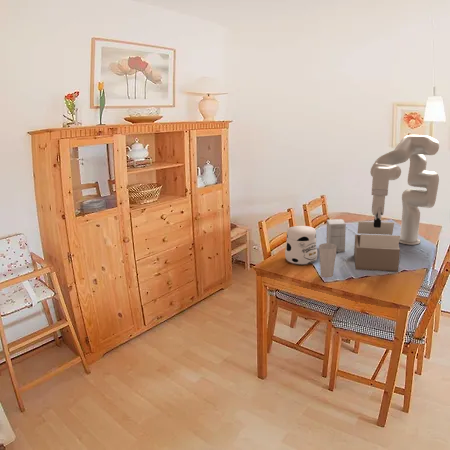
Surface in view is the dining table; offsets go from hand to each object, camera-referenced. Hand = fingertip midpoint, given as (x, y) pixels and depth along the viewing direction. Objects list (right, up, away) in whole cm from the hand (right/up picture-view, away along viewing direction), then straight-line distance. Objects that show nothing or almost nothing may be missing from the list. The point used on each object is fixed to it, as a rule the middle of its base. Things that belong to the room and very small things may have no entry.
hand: (377, 227), depth 198 cm
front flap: (-3, -7, -10) cm, 12 cm away
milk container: (-36, -19, +14) cm, 43 cm away
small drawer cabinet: (-13, -13, +28) cm, 34 cm away
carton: (+1, -19, +6) cm, 20 cm away
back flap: (+3, -1, +9) cm, 9 cm away
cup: (-27, -24, -5) cm, 37 cm away
